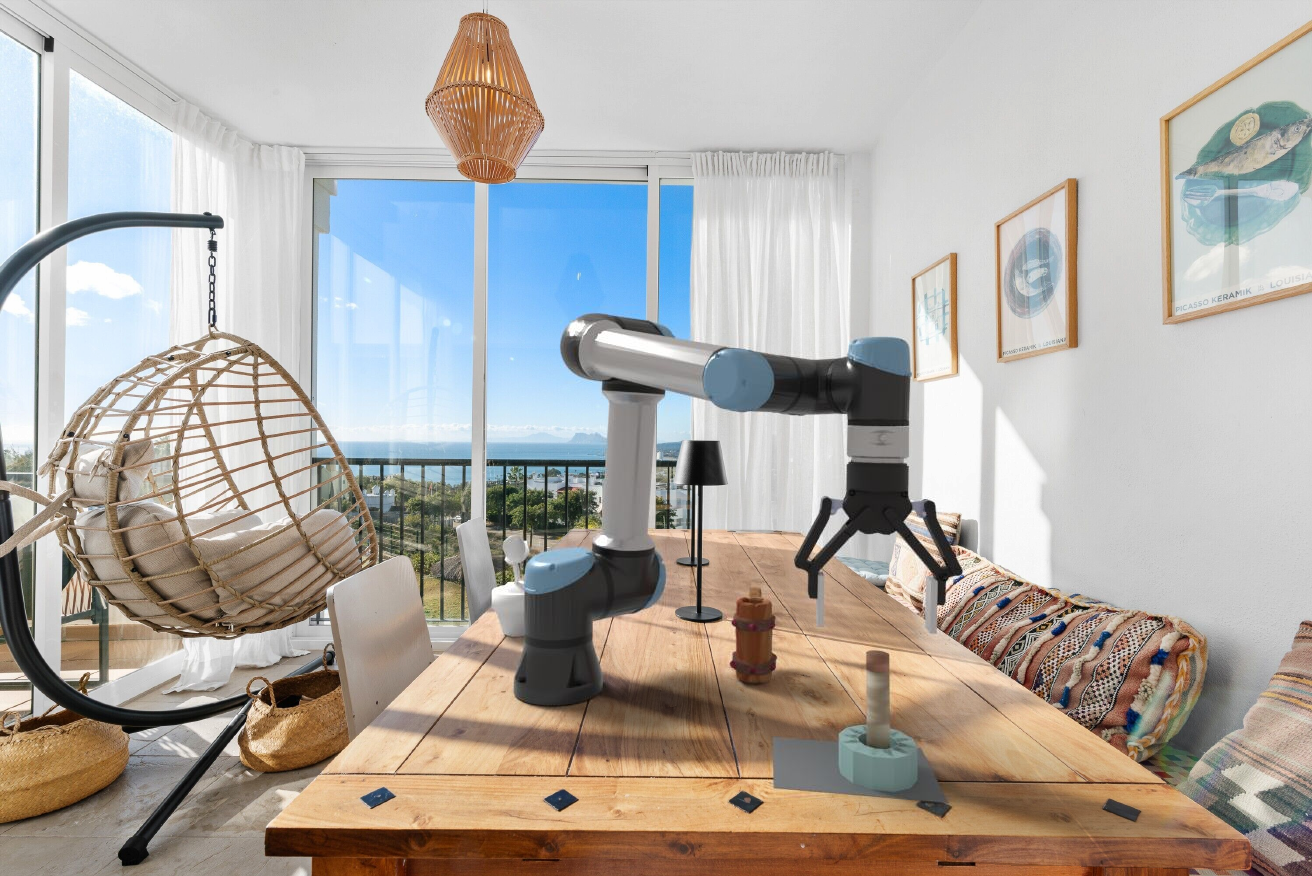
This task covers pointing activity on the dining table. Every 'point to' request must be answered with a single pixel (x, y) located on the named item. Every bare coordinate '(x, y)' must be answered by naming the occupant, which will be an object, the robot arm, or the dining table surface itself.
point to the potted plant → (512, 590)
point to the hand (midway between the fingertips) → (874, 627)
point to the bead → (878, 760)
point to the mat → (838, 772)
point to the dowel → (878, 699)
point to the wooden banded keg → (753, 638)
